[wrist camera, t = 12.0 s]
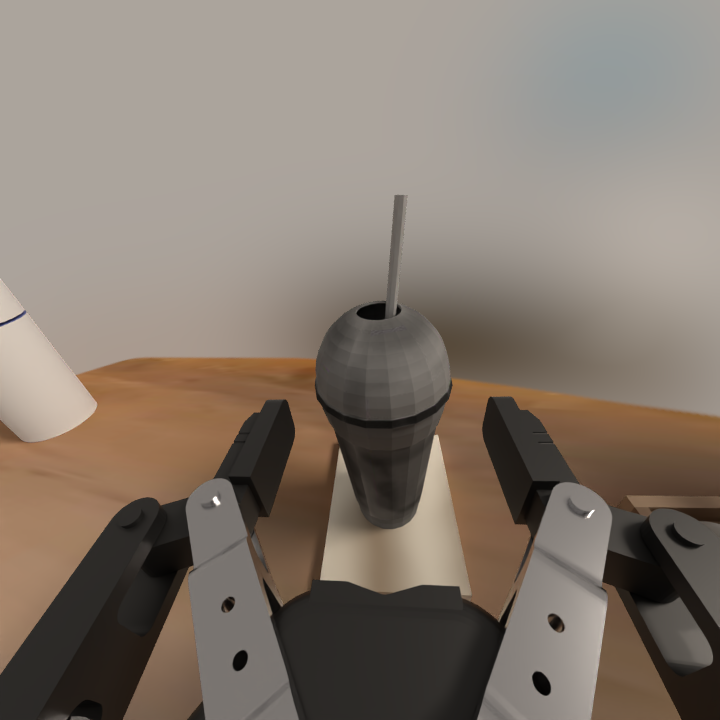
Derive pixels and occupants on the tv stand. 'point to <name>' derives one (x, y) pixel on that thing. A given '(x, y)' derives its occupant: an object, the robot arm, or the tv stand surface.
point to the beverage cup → (384, 395)
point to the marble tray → (678, 507)
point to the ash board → (396, 539)
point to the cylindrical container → (36, 379)
